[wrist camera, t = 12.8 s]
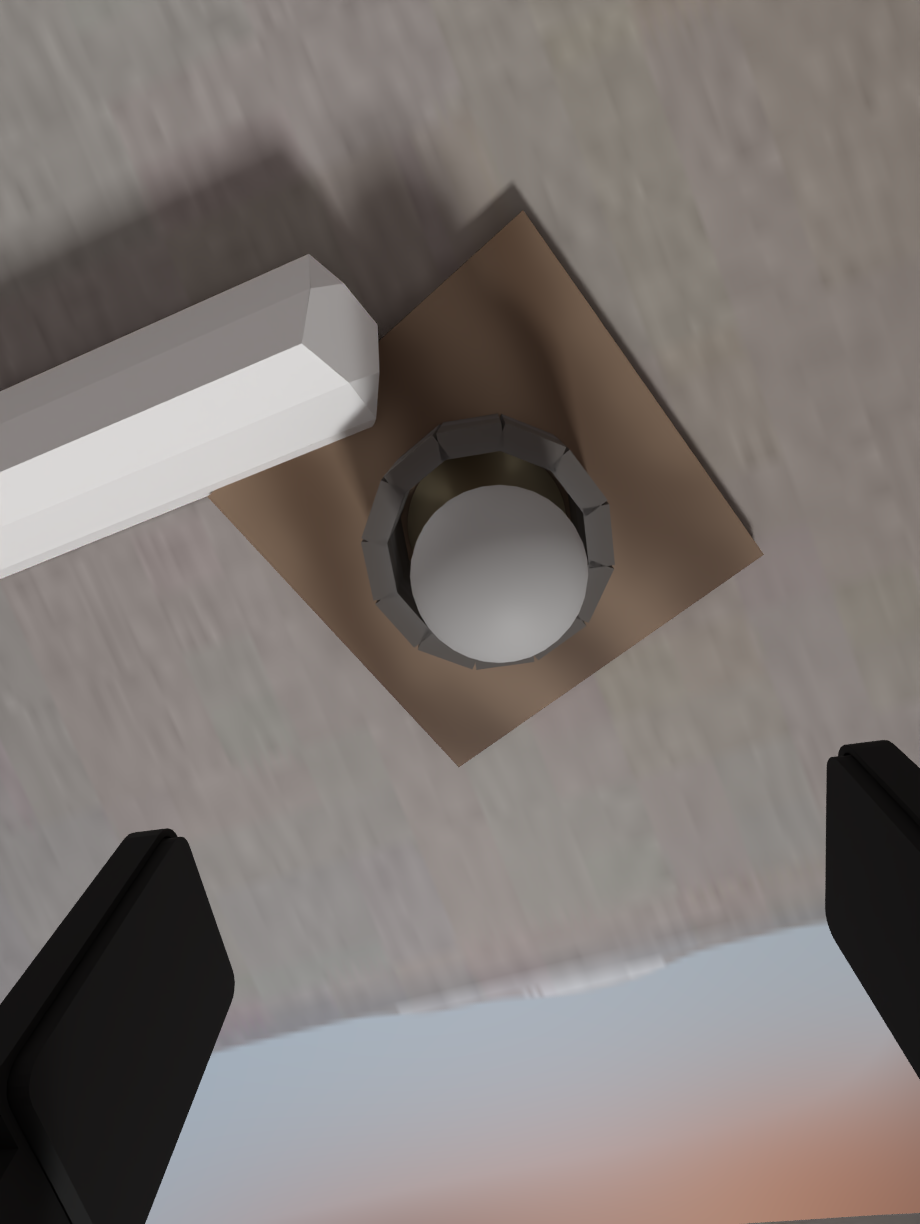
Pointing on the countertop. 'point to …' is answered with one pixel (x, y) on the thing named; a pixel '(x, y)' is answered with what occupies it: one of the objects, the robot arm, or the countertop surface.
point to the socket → (485, 456)
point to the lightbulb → (499, 573)
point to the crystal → (183, 410)
